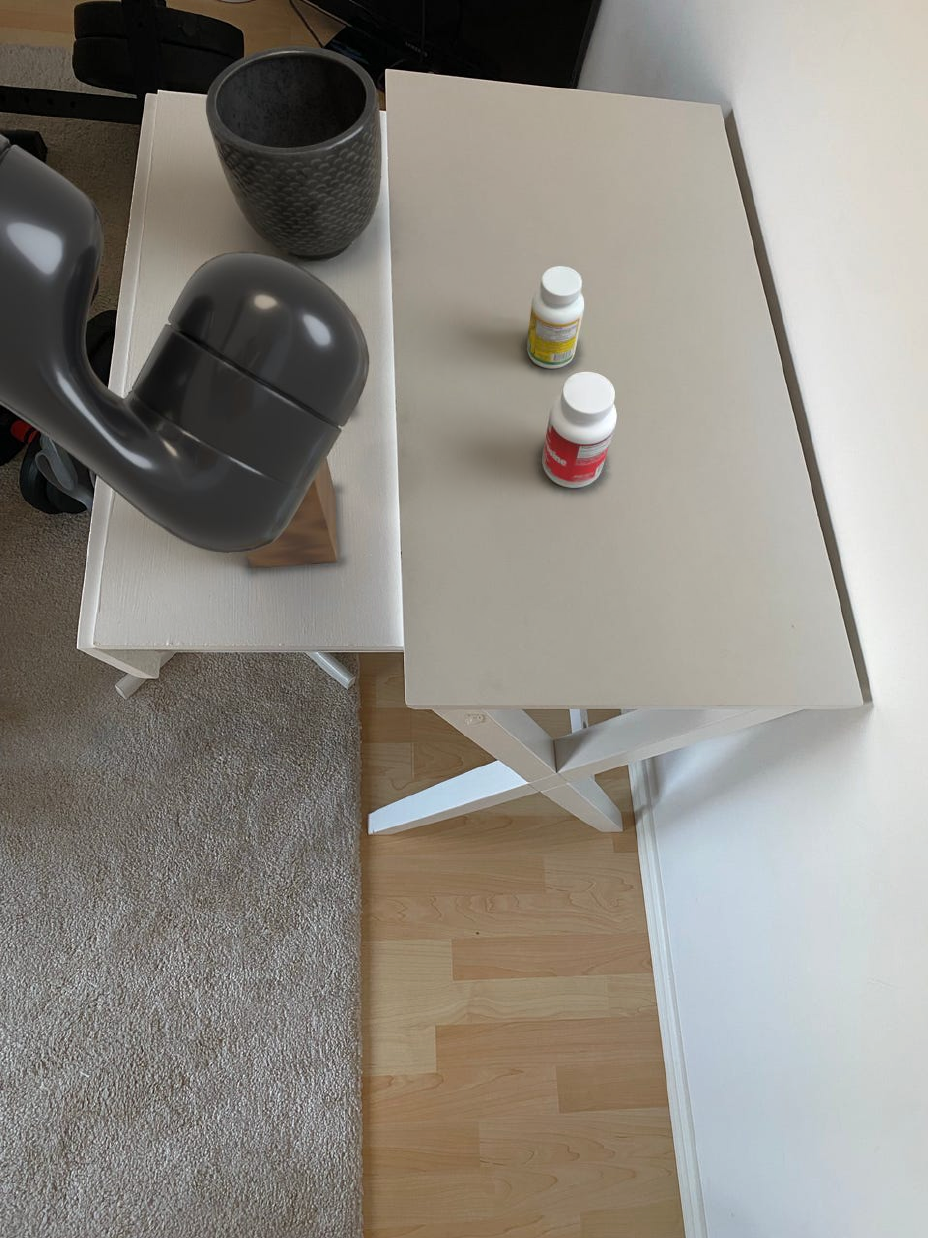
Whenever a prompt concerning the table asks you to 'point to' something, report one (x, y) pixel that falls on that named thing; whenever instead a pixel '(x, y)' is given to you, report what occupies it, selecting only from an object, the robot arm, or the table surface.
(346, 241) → the planter
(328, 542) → the oak stand
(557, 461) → the pill bottle
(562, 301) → the supplement bottle
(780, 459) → the table surface
